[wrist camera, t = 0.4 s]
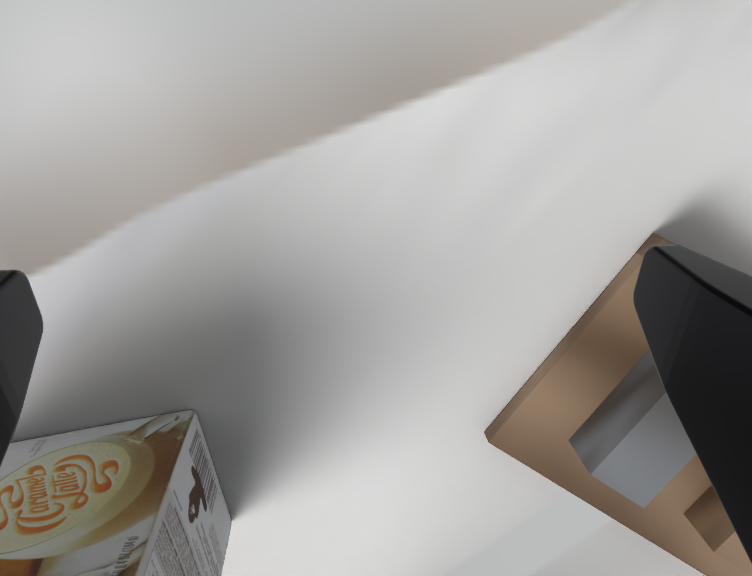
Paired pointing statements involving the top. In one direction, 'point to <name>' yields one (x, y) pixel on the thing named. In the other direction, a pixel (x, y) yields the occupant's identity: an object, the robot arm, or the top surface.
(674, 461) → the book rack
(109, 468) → the coffee box
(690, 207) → the top surface
